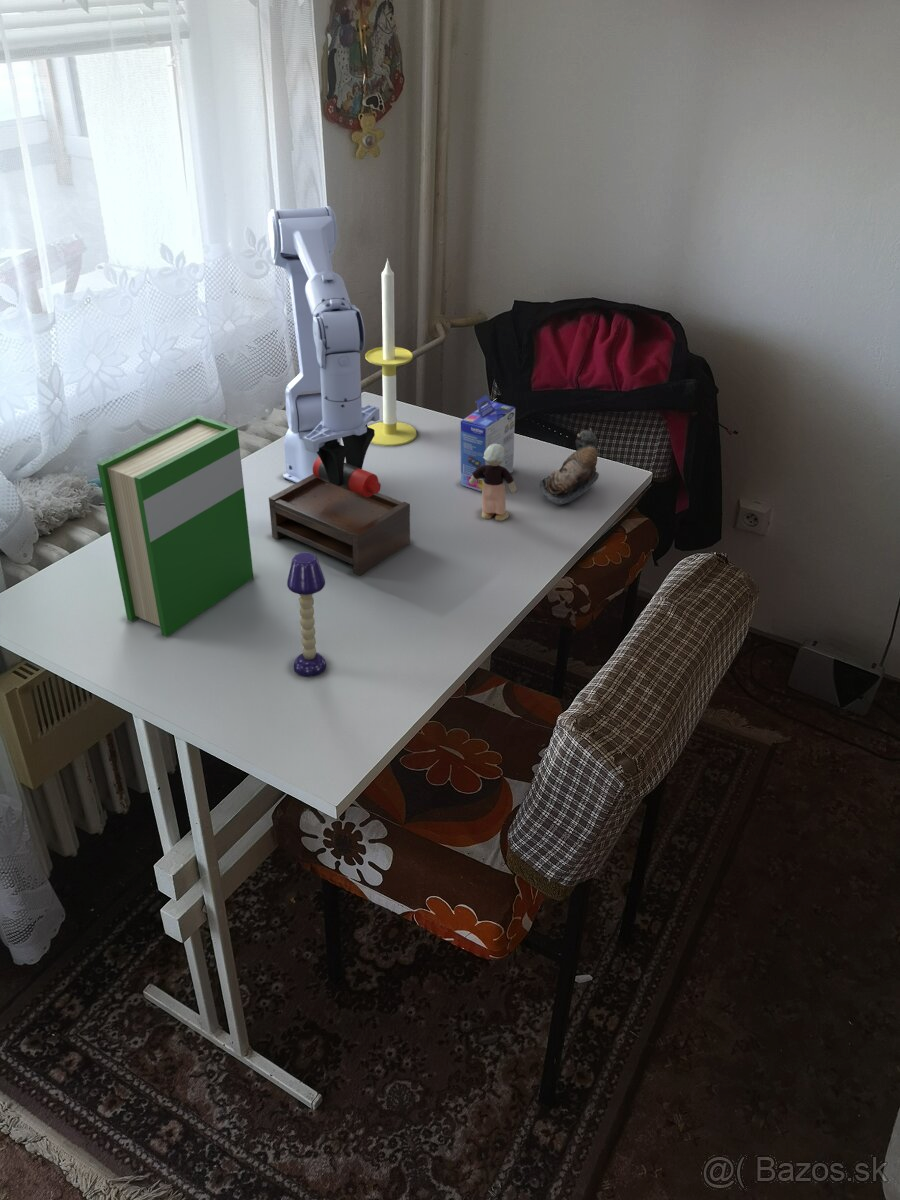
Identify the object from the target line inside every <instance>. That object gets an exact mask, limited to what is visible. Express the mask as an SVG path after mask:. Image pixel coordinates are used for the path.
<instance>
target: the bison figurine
mask: <svg viewBox="0 0 900 1200" xmlns="http://www.w3.org/2000/svg"><path fill="white" fill-rule="evenodd" d="M576 437H577V438H576V439H575V441H574V444H575V449H576V450H575V451H574V452H573V453H571V454H570V455H569V456H568V457H567V458H566V459H565V460H564V461H563V463H562V465H561V467H560V468H559V469H555V470H554V471H552V473H551V475H548V476H547V477H543V478H542V480H540V481H539V488H540V491H541V492H542V493H543V495H544V497H545V498H546V499H547V500H548V501H549V502H551V503H554V504H556V505H558V506H561V505H564V504H570V503H571V502H572V501H574V500H576V499H577V498H578V497H580V496H582V495H583V494H585V492H587V491H588V490H589V489H590V488H591V487H592V486H594V484H596V482H597V481H598V479H599V476H600V473H599V472H598V471H597V464H598V455H599V453H598V451H597V447H598V438H597V435H596V434H595V433H594V432H593V430H592V428H591V427H589V430H587V429H583V430H581V431H580V432H578V433H576Z"/></svg>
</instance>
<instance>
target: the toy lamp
mask: <svg viewBox="0 0 900 1200" xmlns="http://www.w3.org/2000/svg"><path fill="white" fill-rule="evenodd" d="M319 561H320V560H319V559H318V557H317V555H315V554H314V553H312V552H308V551H305V552H304V551H303V552H299V553H297V554H295V555H294V556H293V558H292V559H291V563H290V568H289V572H288V577H287V583H286V585H287V588H288V590H289V591H291V592H292V593H294V594H295V595H296V594H297V595H299V599H298V600H299V601H298V603H299V606H300V608H299V614H300V626H301V630H300V635H301V636H302V639H301V645H302V653H300V654H299V655H298V656H296V658H295V660H294V663H293V670H294V672H295V673H296V674H297V675H299V676H302V677H307V678H311V677H316V676H319V675H321V674H323V673H325V671H326V670H327V662H326V659H325V658H324V656H323V655H322V654H321V653H319V652H317V647H316V645H317V641H316V636H315V635H316V627H315V617H314V615H315V609H314V601H315V599H314V596H313V595H314V594H317V593H319V592H321V591H322V590H323V589H324V587H325V585H326V580H325V576H324V573H323V570H322V567H321V565H320V562H319Z"/></svg>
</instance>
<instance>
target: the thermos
mask: <svg viewBox="0 0 900 1200" xmlns="http://www.w3.org/2000/svg"><path fill="white" fill-rule="evenodd" d="M313 474H314V476H315V477H317V478H319V479H321V480H323V481H326V482H328V483H330V482H329V479H328V476H327V473H326V470H325V468H324V465H323V463H322V461H321V459H320V457H318V458H317V459H316V460H315V462H314V465H313ZM331 484H332V483H331ZM333 485H334V484H333ZM336 486H337V485H336ZM338 487H341V488H344V489H346V490H349V491H351V492H355V493H357V494H360V495H362V496H365V497H371V496H372V495H373V494H377V493H380V490H381V488H382V484H381V482H379V477H378V476H377V474H375V473H372V472H370V471H367V470H364V469H363V468H362V469H360V468H358V467H355V466H352V465H350V464H347V463H346V462H344V472H343V483H342V485H341V486H338Z"/></svg>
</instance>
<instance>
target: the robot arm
mask: <svg viewBox="0 0 900 1200" xmlns="http://www.w3.org/2000/svg"><path fill="white" fill-rule="evenodd" d="M267 227H268V228H267V229H268V236H269V244H270V253H271V258H272V260H273V264H274V265H275V266H277V267H279V268H282V269H284V271H285V273H286V276H287V278H288V282H289V290H290V299H291V307H292V316H293V323H294V333H295V341H296V351H297V359H298V368H299V373H298V374H297V376H296V375H295V377H294V378H293V379H292V380H291V381H289V382H288V384H287V385H286V387H285V390H284V394H285V395H284V396H285V413H286V421H287V425H288V429H287V431H286V433H285V436H284V440H283V448H284V449H283V450H284V461H285V473H283V474H282V478H284V479H286V480H289V481H291V482H294V483H297V482H299V481H301V480H303V479H305V478H307V477H309V476H310V475H312V474H313V465H314V462H315V460H316V459H317V458H318V457H320V459H321V461H322V463H323V465H324V468H325V470H326V473H327V476H328V479H329V482H330V483H332V484H334V485H337V486H341V485H342V483H343V472H344V463H347V464H350V465H352V466H355V467H358V468H360V469H362V470H363V466H364V461H365V458H366V455H367V452H368V449H369V447H370V444H372V443H371V441H372V439H373V438H374V436H375V431H374V429H372V428H369V427H368V424H369V423H370V422H375V423H376V422H378V421H379V420H380V407H377V406H374V405H372V404H367V405H366V406H363V407H362V375H361V373H362V371H361V352H363V351H364V350H365V344H366V331H365V323H364V320H363V316H362V313H361V309H359V308H358V307H356V305H355V304H352V303H351V299H350V296H349V293H348V290H347V287H346V283H345V281H344V279H343V278H342V276H341V275H339V274H338V273H337V272H334V269H333V265H332V257H333V255H334V252H335V249H336V246H337V244H338V239H339V238H338V237H339V235H338V234H339V231H338V221H337V216H336V213H335V210H334V209H333V208H332V207H331V206H330V205H325V206H322V207H304V208H289V209H276V208H272V209H271V210H270V212H268V216H267ZM360 351H361V352H360ZM309 392H314V393H309ZM303 393H304V394H303Z"/></svg>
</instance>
